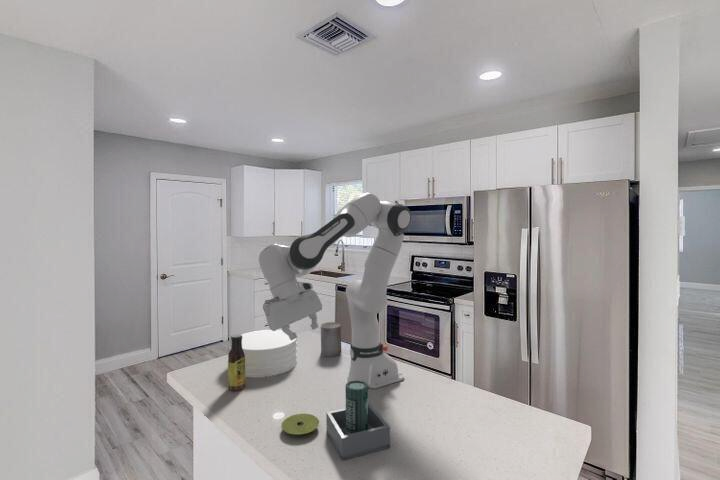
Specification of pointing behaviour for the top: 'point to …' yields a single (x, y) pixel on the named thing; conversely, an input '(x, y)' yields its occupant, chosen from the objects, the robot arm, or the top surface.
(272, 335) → the plate stack
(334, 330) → the pillar candle
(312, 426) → the mat
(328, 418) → the bin
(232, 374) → the sauce bottle
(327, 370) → the top surface
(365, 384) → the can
